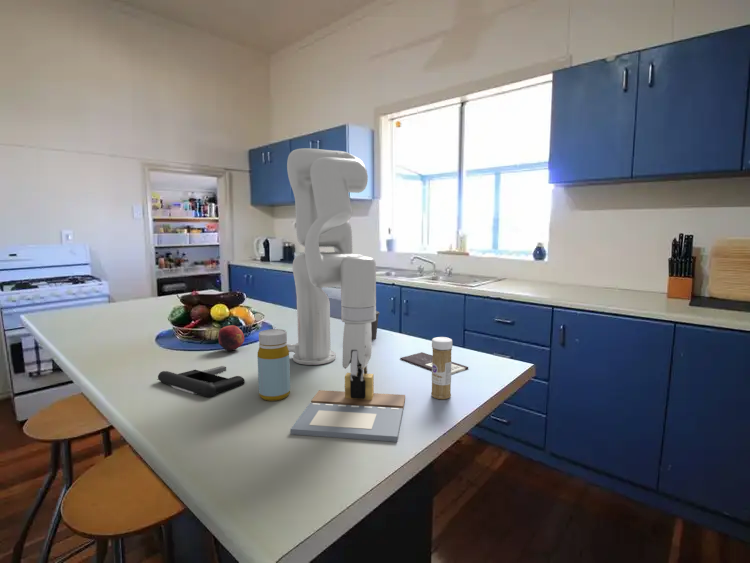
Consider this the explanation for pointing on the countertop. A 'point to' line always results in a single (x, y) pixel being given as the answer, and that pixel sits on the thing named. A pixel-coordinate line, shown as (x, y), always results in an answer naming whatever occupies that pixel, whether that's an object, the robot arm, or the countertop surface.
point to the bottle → (273, 365)
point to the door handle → (194, 384)
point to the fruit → (230, 337)
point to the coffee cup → (374, 326)
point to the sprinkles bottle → (441, 367)
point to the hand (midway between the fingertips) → (359, 394)
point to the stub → (369, 399)
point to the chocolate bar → (430, 362)
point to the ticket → (349, 422)
